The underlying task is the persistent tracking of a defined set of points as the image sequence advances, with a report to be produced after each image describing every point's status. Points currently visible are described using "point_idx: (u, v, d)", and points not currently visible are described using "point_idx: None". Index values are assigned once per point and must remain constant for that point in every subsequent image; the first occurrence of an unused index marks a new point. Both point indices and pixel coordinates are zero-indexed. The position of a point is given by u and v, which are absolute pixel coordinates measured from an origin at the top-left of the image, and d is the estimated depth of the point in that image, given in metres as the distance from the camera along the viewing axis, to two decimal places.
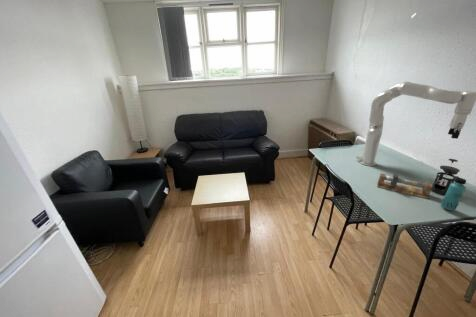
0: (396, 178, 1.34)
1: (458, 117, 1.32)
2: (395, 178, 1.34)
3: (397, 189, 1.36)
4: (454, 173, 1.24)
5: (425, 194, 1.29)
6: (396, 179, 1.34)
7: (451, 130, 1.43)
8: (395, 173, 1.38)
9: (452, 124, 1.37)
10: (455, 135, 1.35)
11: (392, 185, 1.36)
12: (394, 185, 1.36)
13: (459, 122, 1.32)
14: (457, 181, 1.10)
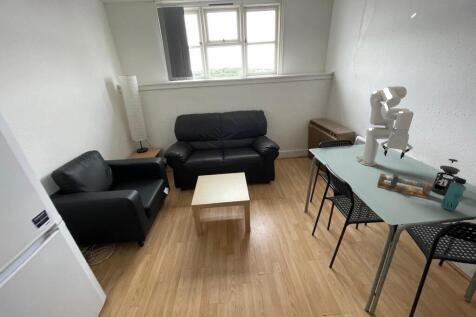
0: (396, 178, 1.34)
1: (408, 138, 1.25)
2: (395, 178, 1.34)
3: (397, 189, 1.36)
4: (454, 173, 1.24)
5: (425, 194, 1.29)
6: (396, 179, 1.34)
7: None
8: (395, 173, 1.38)
9: (401, 145, 1.27)
10: (403, 155, 1.30)
11: (392, 185, 1.36)
12: (394, 185, 1.36)
13: (407, 142, 1.27)
14: (457, 181, 1.10)
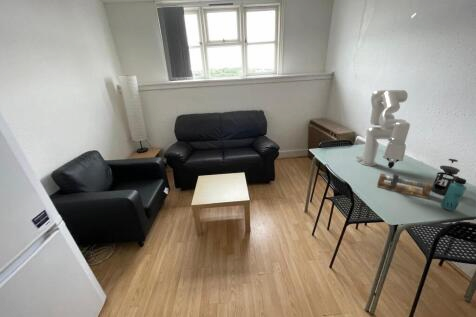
0: (396, 178, 1.34)
1: (405, 148, 1.27)
2: (395, 178, 1.34)
3: (397, 189, 1.36)
4: (454, 173, 1.24)
5: (425, 194, 1.29)
6: (396, 179, 1.34)
7: (391, 163, 1.35)
8: (395, 173, 1.38)
9: (398, 156, 1.30)
10: (393, 165, 1.35)
11: (392, 185, 1.36)
12: (394, 185, 1.36)
13: (404, 152, 1.29)
14: (457, 181, 1.10)
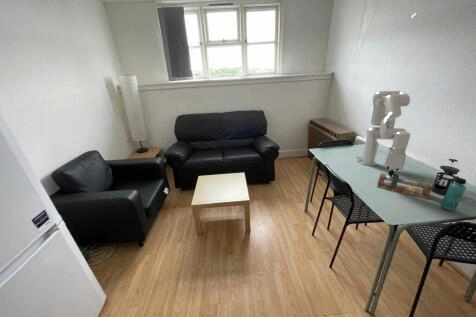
0: (396, 178, 1.34)
1: (405, 157, 1.29)
2: (395, 178, 1.34)
3: (397, 189, 1.36)
4: (454, 173, 1.24)
5: (425, 194, 1.29)
6: (396, 179, 1.34)
7: (391, 172, 1.37)
8: (395, 173, 1.38)
9: (398, 164, 1.32)
10: (393, 173, 1.37)
11: (392, 185, 1.36)
12: (394, 185, 1.36)
13: (404, 161, 1.31)
14: (457, 181, 1.10)
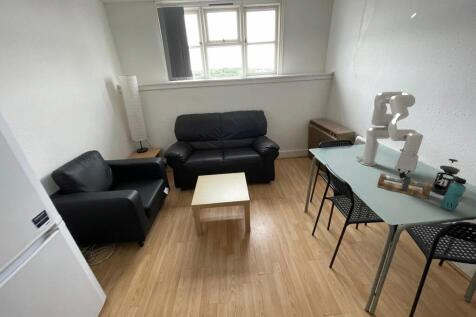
0: (408, 180, 1.30)
1: (417, 159, 1.26)
2: (407, 180, 1.31)
3: (397, 189, 1.36)
4: (454, 173, 1.24)
5: (425, 194, 1.29)
6: (408, 181, 1.31)
7: None
8: (406, 175, 1.34)
9: (410, 167, 1.28)
10: None
11: (404, 188, 1.33)
12: (406, 188, 1.32)
13: (416, 163, 1.28)
14: (457, 181, 1.10)
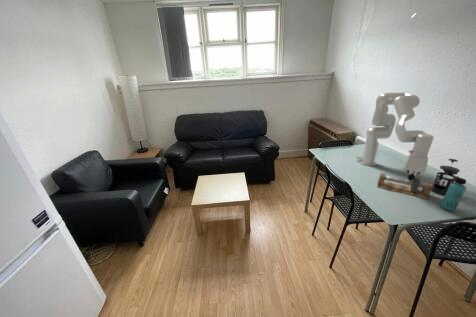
0: (417, 182, 1.28)
1: (427, 161, 1.23)
2: (416, 182, 1.28)
3: (397, 189, 1.36)
4: (454, 173, 1.24)
5: (425, 194, 1.29)
6: (417, 183, 1.28)
7: None
8: (415, 177, 1.32)
9: (419, 168, 1.26)
10: None
11: (413, 190, 1.31)
12: (415, 190, 1.30)
13: (426, 165, 1.25)
14: (457, 181, 1.10)
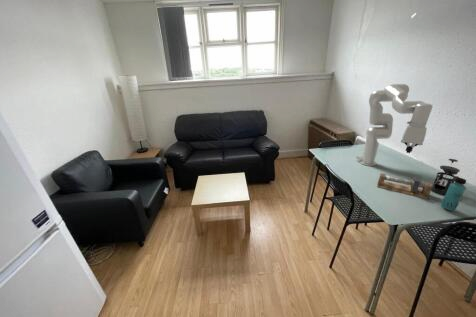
0: (417, 182, 1.28)
1: (425, 131, 1.21)
2: (416, 182, 1.28)
3: (397, 189, 1.36)
4: (454, 173, 1.24)
5: (425, 194, 1.29)
6: (417, 183, 1.28)
7: None
8: (415, 177, 1.32)
9: (417, 139, 1.24)
10: None
11: (413, 190, 1.31)
12: (415, 190, 1.30)
13: (424, 136, 1.23)
14: (457, 181, 1.10)
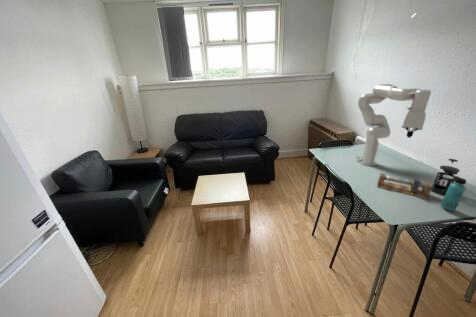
0: (417, 182, 1.28)
1: (425, 116, 1.29)
2: (416, 182, 1.28)
3: (397, 189, 1.36)
4: (454, 173, 1.24)
5: (425, 194, 1.29)
6: (417, 183, 1.28)
7: None
8: (415, 177, 1.32)
9: (417, 124, 1.31)
10: (412, 134, 1.37)
11: (413, 190, 1.31)
12: (415, 190, 1.30)
13: (424, 120, 1.31)
14: (457, 181, 1.10)
